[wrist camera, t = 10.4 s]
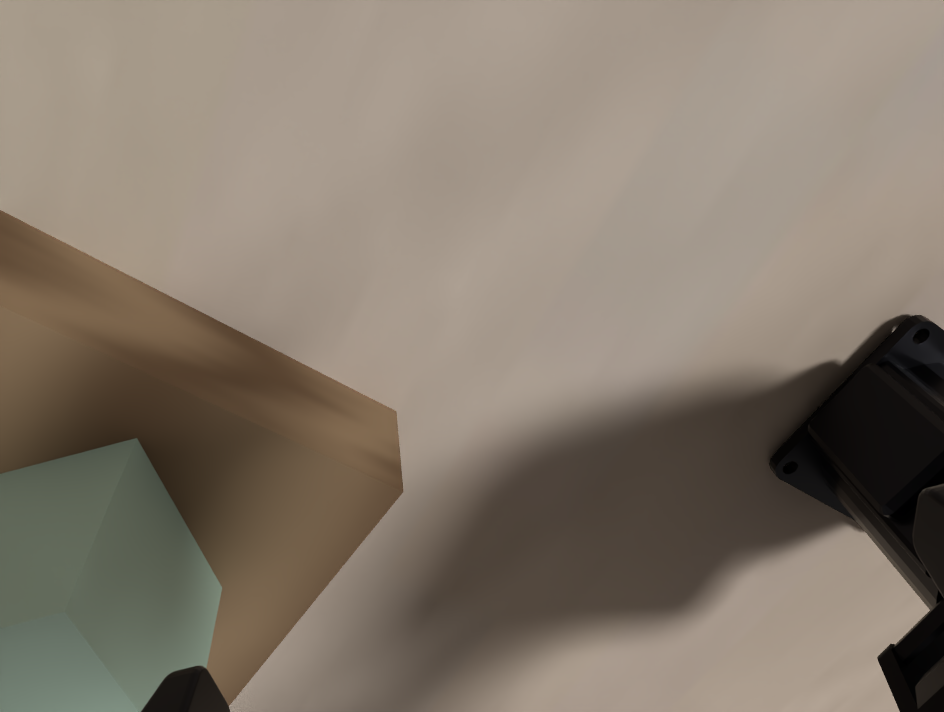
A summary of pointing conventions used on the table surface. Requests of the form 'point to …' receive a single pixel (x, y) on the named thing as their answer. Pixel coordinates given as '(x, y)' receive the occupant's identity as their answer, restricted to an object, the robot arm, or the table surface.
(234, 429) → the walnut block
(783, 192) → the table surface
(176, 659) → the sage block
